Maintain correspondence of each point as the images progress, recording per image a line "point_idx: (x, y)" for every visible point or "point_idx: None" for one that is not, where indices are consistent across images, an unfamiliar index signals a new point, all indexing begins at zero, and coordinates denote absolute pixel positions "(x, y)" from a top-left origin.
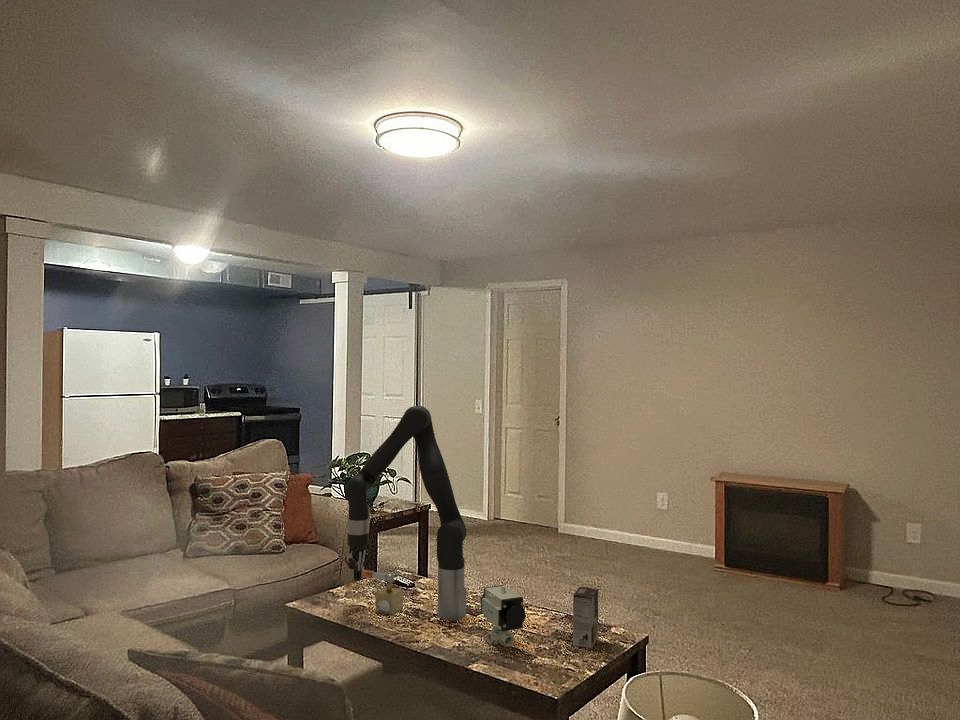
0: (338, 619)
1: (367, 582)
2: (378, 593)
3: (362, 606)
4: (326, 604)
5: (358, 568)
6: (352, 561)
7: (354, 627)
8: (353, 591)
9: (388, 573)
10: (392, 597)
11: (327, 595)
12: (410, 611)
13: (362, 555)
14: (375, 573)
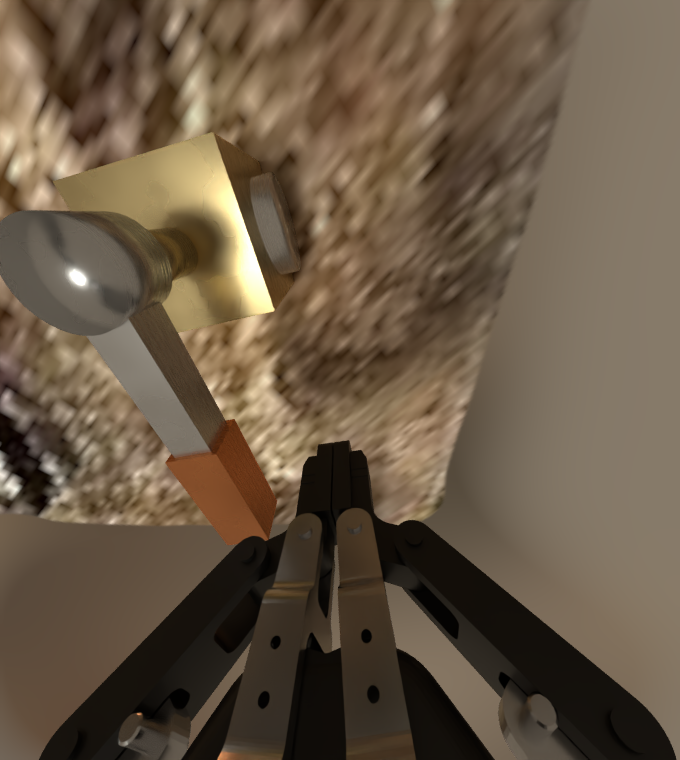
0: (458, 346)
1: (125, 512)
2: (267, 286)
3: (285, 377)
4: None
5: (366, 531)
6: (552, 671)
7: (519, 204)
8: None
9: (65, 311)
10: (221, 140)
11: None
12: (129, 111)
13: (286, 744)
14: (186, 425)
